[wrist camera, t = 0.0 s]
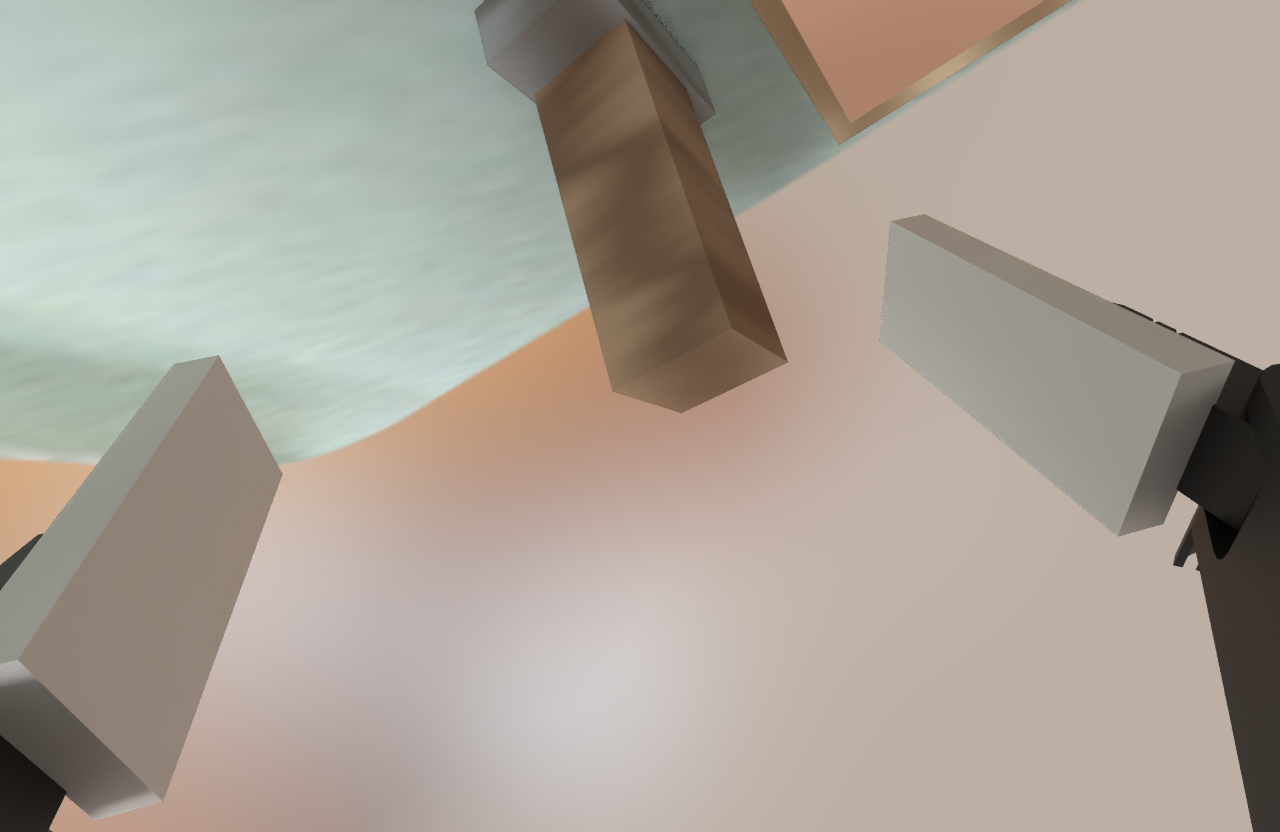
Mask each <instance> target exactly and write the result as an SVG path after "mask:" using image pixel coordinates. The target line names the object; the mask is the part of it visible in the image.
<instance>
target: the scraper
mask: <svg viewBox="0 0 1280 832" xmlns="http://www.w3.org/2000/svg"><path fill="white" fill-rule="evenodd" d="M475 15H476V19H477V23H478V27H479V32H480V36H481V40H482V44H483V48H484V53H485V57H486V61H487V65H488V66H489V67H491V68H492V69H493V70H494V71H496V72H497V73H498V74H499V75H501V76H502V77H503V78H504V79H506V80H507V81H508V82H509V83H511V84H512V85H513V86H514V87H516V88H517V89H518V90H519V91H521V92H522V93H523V94H524V95H526V96H527V97H528V98H530V99H531V100H532V101H533V102H535V103H536V105H537V108H538V112H539V116H540V120H541V123H542V127H543V131H544V135H545V139H546V142H547V146H548V150H549V154H550V157H551V161H552V165H553V169H554V172H555V176H556V180H557V184H558V188H559V191H560V195H561V199H562V203H563V206H564V210H565V214H566V218H567V221H568V225H569V229H570V233H571V236H572V240H573V244H574V248H575V252H576V255H577V259H578V263H579V267H580V270H581V274H582V278H583V282H584V285H585V289H586V293H587V297H588V301H589V304H590V308H591V312H592V316H593V319H594V323H595V327H596V331H597V334H598V338H599V342H600V346H601V349H602V353H603V357H604V360H605V365H606V368H607V372H608V376H609V380H610V383H611V387H612V391H614V392H616V393H620V394H623V395H626V396H629V397H633V398H636V399H639V400H642V401H645V402H648V403H651V404H655V405H658V406H661V407H664V408H668V409H670V410H674V411H677V412H680V413H683V412H685V411H687V410H689V409H691V408H693V407H695V406H697V405H700V404H702V403H703V402H706V401H708V400H710V399H712V398H714V397H716V396H718V395H720V394H722V393H725V392H727V391H729V390H731V389H733V388H735V387H737V386H739V385H741V384H743V383H745V382H748V381H749V380H752V379H754V378H756V377H758V376H760V375H762V374H764V373H767V372H769V371H771V370H773V369H775V368H777V367H779V366H781V365H783V364H785V363H787V362H788V361H787V358H786V356H785V353H784V350H783V348H782V345H781V342H780V339H779V337H778V334H777V331H776V329H775V326H774V323H773V321H772V318H771V315H770V313H769V310H768V308H767V304H766V302H765V299H764V296H763V294H762V291H761V288H760V286H759V283H758V281H757V278H756V275H755V272H754V269H753V267H752V264H751V261H750V259H749V256H748V253H747V251H746V248H745V245H744V243H743V240H742V237H741V234H740V232H739V229H738V226H737V224H736V221H735V218H734V216H733V213H732V210H731V208H730V205H729V202H728V199H727V197H726V194H725V191H724V189H723V186H722V183H721V181H720V178H719V175H718V173H717V170H716V167H715V165H714V162H713V159H712V156H711V154H710V151H709V148H708V146H707V143H706V140H705V138H704V135H703V132H702V130H701V127H700V124H702V123H703V122H704V121H706V120H707V119H709V118H710V117H711V116H713V115H714V114H715V111H714V108H713V106H712V103H711V101H710V98H709V95H708V93H707V90H706V88H705V85H704V82H703V80H702V77H701V75H700V72H699V69H698V67H697V66H696V65H695V63H694V62H693V61H692V60H691V58H690V57H689V56H688V55H687V54H686V52H685V51H684V50H683V49H682V47H681V46H680V45H679V44H678V43H677V41H676V40H675V39H674V38H673V36H672V35H671V34H670V33H669V32H668V30H667V29H666V28H665V27H664V25H663V24H662V23H661V22H660V21H659V19H658V18H657V17H656V16H655V14H654V13H653V12H652V11H651V10H650V8H649V7H648V6H647V5H646V3H645V2H644V1H643V0H485V1H484V2H483V3H482V4H481V5H480V6H479V7H478V8H477V9H476V10H475Z"/></svg>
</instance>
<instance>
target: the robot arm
mask: <svg viewBox="0 0 1280 832" xmlns="http://www.w3.org/2000/svg"><path fill="white" fill-rule="evenodd" d="M885 275H886V276H885V286H884V295H883V306H882V316H881V317H882V318H881V327H880V337H879V341H880V342H881V343H883V344H884V345H885V346H886V347H887V348H889V349H890V350H891V351H892V352H894V353H895V354H896V355H897V356H898V357H900V358H901V359H902V360H903V361H905V362H906V363H907V364H908V365H910V366H911V367H912V368H913V369H914V370H916V371H917V372H918V373H919V374H920V375H922V376H923V377H924V378H925V379H927V380H928V381H929V382H930V383H931V384H933V385H934V386H935V387H936V388H937V389H939V390H940V391H941V392H942V393H943V394H945V395H946V396H947V397H948V398H950V399H951V400H952V401H953V402H954V403H956V404H957V405H958V406H959V407H961V408H962V409H963V410H964V411H966V412H967V413H968V414H969V415H970V416H972V417H973V418H974V419H975V420H976V421H977V422H979V423H980V424H981V425H982V426H984V427H985V428H986V429H987V430H989V431H990V432H991V433H992V434H993V435H995V436H996V437H997V438H998V439H999V440H1001V441H1002V442H1003V443H1004V444H1005V445H1007V446H1008V447H1009V448H1010V449H1012V450H1013V451H1014V452H1015V453H1016V454H1018V455H1019V456H1020V457H1021V458H1023V459H1024V460H1025V461H1026V462H1027V463H1029V464H1030V465H1031V466H1032V467H1033V468H1035V469H1036V470H1037V471H1038V472H1040V473H1041V474H1042V475H1043V476H1044V477H1046V478H1047V479H1048V480H1049V481H1050V482H1052V483H1053V484H1054V485H1055V486H1057V487H1058V488H1059V489H1060V490H1061V491H1063V492H1064V493H1065V494H1066V495H1068V496H1069V497H1070V498H1071V499H1072V500H1074V501H1075V502H1076V503H1077V504H1078V505H1080V506H1081V507H1082V508H1084V509H1085V510H1086V511H1087V512H1088V513H1089V514H1091V515H1092V516H1093V517H1094V518H1095V519H1097V520H1098V521H1099V522H1100V523H1102V524H1103V525H1104V526H1105V527H1106V528H1108V529H1109V530H1110V531H1111V532H1113V533H1114V534H1115V535H1116V536H1122V535H1125V534H1129V533H1132V532H1136V531H1140V530H1143V529H1146V528H1150V527H1154V526H1157V525H1161V524H1163V523H1164V521H1165V519H1166V516H1167V514H1168V512H1169V510H1170V507H1171V505H1172V503H1173V501H1174V498H1175V496H1176V494H1177V491H1180V492H1181V493H1183V494H1184V495H1185V496H1187V497H1188V498H1190V499H1191V500H1193V501H1194V502H1196V503H1197V504H1198V508H1197V510H1196V512H1195V514H1194V516H1193V518H1192V520H1191V523H1190V525H1189V527H1188V529H1187V531H1186V533H1185V535H1184V537H1183V539H1182V542H1181V544H1180V546H1179V548H1178V550H1177V552H1176V555H1175V559H1174V564H1173V565H1175V566H1179V567H1183V565H1184V563H1185V561H1186V559H1187V557H1188V556H1189V555H1191V554H1193V553H1195V552H1196V555H1197V559H1198V566H1197V568H1196V570H1198V571H1200V574H1201V579H1202V584H1203V589H1204V594H1205V598H1206V603H1207V608H1208V613H1209V618H1210V622H1211V628H1212V633H1213V637H1214V642H1215V647H1216V652H1217V657H1218V661H1219V667H1220V672H1221V677H1222V681H1223V686H1224V691H1225V696H1226V700H1227V706H1228V710H1229V715H1230V721H1231V725H1232V730H1233V735H1234V740H1235V745H1236V750H1237V755H1238V760H1239V764H1240V769H1241V774H1242V779H1243V784H1244V788H1245V794H1246V798H1247V803H1248V808H1249V813H1250V818H1251V823H1252V828H1253V832H1280V364H1276V365H1271V366H1270V367H1268V368H1266V369H1265V370H1261V369H1259V368H1257V367H1255V366H1253V365H1250V364H1248V363H1246V362H1244V361H1242V360H1240V359H1238V358H1236V357H1233V356H1231V355H1229V354H1227V353H1225V352H1223V351H1220V350H1218V349H1216V348H1214V347H1212V346H1210V345H1208V344H1206V343H1203V342H1201V341H1199V340H1197V339H1195V338H1192V337H1191V336H1188V335H1186V334H1184V333H1179V334H1177V332H1176V329H1173V328H1171V327H1169V326H1167V325H1165V324H1163V323H1161V322H1155V323H1154V322H1153V319H1152V318H1150V317H1148V316H1146V315H1144V314H1141V313H1139V312H1137V311H1135V310H1133V309H1131V308H1128V307H1126V306H1124V305H1120V304H1116V303H1112V302H1109V301H1107V300H1105V299H1103V298H1101V297H1099V296H1097V295H1095V294H1093V293H1090V292H1088V291H1086V290H1084V289H1082V288H1080V287H1078V286H1075V285H1073V284H1071V283H1069V282H1067V281H1065V280H1063V279H1060V278H1059V277H1056V276H1054V275H1052V274H1050V273H1048V272H1046V271H1044V270H1042V269H1040V268H1037V267H1035V266H1033V265H1031V264H1029V263H1026V262H1025V261H1023V260H1020V259H1018V258H1016V257H1014V256H1012V255H1010V254H1008V253H1005V252H1003V251H1001V250H999V249H997V248H995V247H993V246H991V245H989V244H987V243H984V242H982V241H980V240H978V239H976V238H974V237H971V236H969V235H967V234H965V233H963V232H961V231H959V230H957V229H955V228H953V227H950V226H948V225H946V224H944V223H942V222H940V221H938V220H936V219H933V218H931V217H929V216H927V215H925V214H924V215H919V216H914V217H910V218H904V219H900V220H894V221H891V222H890V233H889V243H888V253H887V264H886V274H885ZM281 477H282V472H281V470H280V469H279V467H278V465H277V463H276V461H275V459H274V457H273V455H272V454H271V452H270V450H269V448H268V446H267V444H266V442H265V441H264V439H263V437H262V435H261V433H260V431H259V429H258V427H257V426H256V424H255V422H254V420H253V418H252V416H251V414H250V413H249V411H248V409H247V407H246V405H245V403H244V401H243V399H242V398H241V396H240V394H239V392H238V390H237V388H236V386H235V384H234V383H233V381H232V379H231V377H230V375H229V373H228V371H227V370H226V368H225V366H224V364H223V362H222V360H221V358H220V356H219V355H218V356H213V357H208V358H203V359H198V360H193V361H188V362H183V363H178V364H174V365H173V366H172V367H171V369H170V370H169V371H168V373H167V374H166V375H165V376H164V378H163V379H162V380H161V382H160V383H159V384H158V386H157V387H156V388H155V390H154V391H153V392H152V393H151V395H150V396H149V397H148V399H147V400H146V401H145V403H144V404H143V405H142V407H141V408H140V409H139V410H138V412H137V413H136V414H135V416H134V417H133V418H132V420H131V421H130V422H129V423H128V425H127V426H126V427H125V429H124V430H123V431H122V433H121V434H120V435H119V437H118V438H117V439H116V440H115V442H114V443H113V444H112V446H111V447H110V448H109V450H108V451H107V452H106V453H105V455H104V456H103V457H102V459H101V460H100V461H99V463H98V464H97V465H96V467H95V468H94V469H93V471H92V472H91V473H90V474H89V476H88V477H87V478H86V480H85V481H84V482H83V483H82V485H81V486H80V487H79V489H78V490H77V491H76V493H75V494H74V495H73V497H72V498H71V499H70V500H69V502H68V503H67V504H66V506H65V507H64V508H63V510H62V511H61V512H60V513H59V515H58V516H57V517H56V519H55V520H54V521H53V523H52V524H51V525H50V527H49V528H48V529H47V531H46V532H45V533H44V534H39V535H37V536H36V537H35V538H33V539H32V540H31V541H30V542H28V543H27V544H26V545H25V546H23V547H22V548H21V549H20V550H19V551H17V552H16V553H15V554H13V555H12V556H11V557H10V558H8V559H7V560H6V561H5V562H4V563H2V564H1V565H0V832H52V831H51V830H49V827H50V825H51V823H52V821H53V819H54V817H55V815H56V813H57V811H58V809H59V807H60V805H61V803H62V801H63V799H64V796H65V795H66V796H67V797H68V798H69V799H71V800H72V801H73V802H74V803H75V804H77V805H78V806H79V807H80V808H81V809H83V810H84V811H85V812H86V813H87V814H88V815H89V816H91V817H92V818H93V819H94V820H98V819H102V818H105V817H109V816H112V815H116V814H119V813H123V812H127V811H130V810H134V809H138V808H141V807H145V806H148V805H152V804H156V803H159V802H163V800H164V798H165V795H166V792H167V789H168V787H169V784H170V781H171V778H172V776H173V773H174V770H175V767H176V764H177V761H178V759H179V756H180V754H181V751H182V748H183V745H184V742H185V740H186V737H187V734H188V732H189V729H190V726H191V724H192V720H193V718H194V715H195V713H196V710H197V707H198V704H199V702H200V699H201V696H202V693H203V690H204V688H205V685H206V682H207V680H208V677H209V674H210V671H211V669H212V666H213V663H214V660H215V658H216V655H217V652H218V649H219V647H220V644H221V641H222V638H223V636H224V633H225V630H226V628H227V625H228V622H229V619H230V617H231V614H232V611H233V608H234V605H235V603H236V600H237V597H238V595H239V592H240V589H241V586H242V584H243V581H244V578H245V576H246V573H247V570H248V567H249V565H250V562H251V559H252V556H253V554H254V551H255V548H256V545H257V543H258V540H259V537H260V534H261V532H262V529H263V526H264V523H265V521H266V518H267V515H268V512H269V510H270V507H271V504H272V502H273V499H274V496H275V493H276V490H277V488H278V485H279V482H280V479H281Z"/></svg>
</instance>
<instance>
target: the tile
mask: <svg viewBox="0 0 1280 832" xmlns="http://www.w3.org/2000/svg"><path fill="white" fill-rule="evenodd" d="M1043 1H1045V0H782V2H783V4H784V6H785V7H786V9H787V11H788V13H789V15H790V16H791V18H792V20H793V22H794V23H795V25H796V27H797V29H798V31H799V32H800V34H801V36H802V38H803V39H804V41H805V43H806V45H807V47H808V48H809V50H810V52H811V54H812V55H813V57H814V59H815V61H816V63H817V64H818V66H819V68H820V70H821V72H822V73H823V75H824V77H825V79H826V80H827V82H828V84H829V86H830V88H831V89H832V91H833V93H834V95H835V96H836V98H837V100H838V102H839V104H840V105H841V107H842V109H843V111H844V112H845V114H846V116H847V118H848V120H849V121H850V123H852V122H853V121H855V120H856V119H858V118H860V117H861V116H863V115H864V114H866V113H867V112H869V111H871V110H872V109H874V108H875V107H877V106H879V105H880V104H882V103H883V102H885V101H886V100H888V99H890V98H891V97H893V96H894V95H896V94H898V93H899V92H901V91H902V90H904V89H905V88H907V87H909V86H910V85H912V84H913V83H915V82H917V81H918V80H920V79H921V78H923V77H924V76H926V75H928V74H929V73H931V72H932V71H934V70H935V69H937V68H939V67H940V66H942V65H943V64H945V63H947V62H948V61H950V60H951V59H953V58H954V57H956V56H958V55H959V54H961V53H962V52H964V51H966V50H967V49H969V48H970V47H972V46H973V45H975V44H977V43H978V42H980V41H981V40H983V39H985V38H986V37H988V36H989V35H991V34H992V33H994V32H996V31H997V30H999V29H1000V28H1002V27H1004V26H1005V25H1007V24H1008V23H1010V22H1011V21H1013V20H1015V19H1016V18H1018V17H1019V16H1021V15H1022V14H1024V13H1026V12H1027V11H1029V10H1030V9H1032V8H1034V7H1035V6H1037V5H1038V4H1040V3H1041V2H1043Z"/></svg>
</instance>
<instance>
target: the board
mask: <svg viewBox="0 0 1280 832" xmlns="http://www.w3.org/2000/svg"><path fill="white" fill-rule="evenodd" d="M749 1H750V2H751V4H752V6H753V7H754V9H755V11H756V12H757V14H758V15H759V17H760V19H761V20H762V22H763V23H764V25H765V27H766V28H767V30H768V31H769V33H770V35H771V36H772V38H773V39H774V41H775V43H776V44H777V46H778V47H779V49H780V51H781V52H782V54H783V56H784V57H785V59H786V60H787V62H788V64H789V65H790V67H791V68H792V70H793V72H794V73H795V75H796V76H797V78H798V80H799V81H800V83H801V84H802V86H803V88H804V89H805V91H806V93H807V94H808V96H809V97H810V99H811V101H812V102H813V104H814V105H815V107H816V109H817V110H818V112H819V113H820V115H821V117H822V118H823V120H824V121H825V123H826V125H827V126H828V128H829V129H830V131H831V133H832V134H833V136H834V138H835V139H836V141H837V142H838V144H839V145H840V144H841V143H843V142H844V141H846V140H848V139H849V138H851V137H852V136H854V135H856V134H857V133H859V132H860V131H862V130H864V129H865V128H867V127H868V126H870V125H872V124H873V123H875V122H877V121H878V120H880V119H881V118H883V117H885V116H886V115H888V114H889V113H891V112H893V111H894V110H896V109H897V108H899V107H901V106H902V105H904V104H905V103H907V102H909V101H910V100H912V99H914V98H915V97H917V96H918V95H920V94H922V93H923V92H925V91H926V90H928V89H930V88H931V87H933V86H934V85H936V84H938V83H939V82H941V81H942V80H944V79H946V78H947V77H949V76H951V75H952V74H954V73H955V72H957V71H959V70H960V69H962V68H963V67H965V66H967V65H968V64H970V63H971V62H973V61H975V60H976V59H978V58H980V57H981V56H983V55H984V54H986V53H988V52H989V51H991V50H992V49H994V48H996V47H997V46H999V45H1000V44H1002V43H1004V42H1005V41H1007V40H1008V39H1010V38H1012V37H1013V36H1015V35H1017V34H1018V33H1020V32H1021V31H1023V30H1025V29H1026V28H1028V27H1029V26H1031V25H1033V24H1034V23H1036V22H1037V21H1039V20H1041V19H1042V18H1044V17H1045V16H1047V15H1049V14H1050V13H1052V12H1054V11H1055V10H1057V9H1058V8H1060V7H1062V6H1063V5H1065V4H1066V3H1068V2H1070V1H1071V0H1045V1H1043V2H1041V3H1040V4H1038V5H1037V6H1035V7H1034V8H1032V9H1030V10H1029V11H1027V12H1026V13H1024V14H1022V15H1021V16H1019V17H1018V18H1016V19H1015V20H1013V21H1011V22H1010V23H1008V24H1007V25H1005V26H1004V27H1002V28H1000V29H999V30H997V31H996V32H994V33H992V34H991V35H989V36H988V37H986V38H985V39H983V40H981V41H980V42H978V43H977V44H975V45H973V46H972V47H970V48H969V49H967V50H966V51H964V52H962V53H961V54H959V55H958V56H956V57H954V58H953V59H951V60H950V61H948V62H947V63H945V64H943V65H942V66H940V67H939V68H937V69H935V70H934V71H932V72H931V73H929V74H928V75H926V76H924V77H923V78H921V79H920V80H918V81H917V82H915V83H913V84H912V85H910V86H909V87H907V88H905V89H904V90H902V91H901V92H899V93H898V94H896V95H894V96H893V97H891V98H890V99H888V100H886V101H885V102H883V103H882V104H880V105H879V106H877V107H875V108H874V109H872V110H871V111H869V112H867V113H866V114H864V115H863V116H861V117H860V118H858V119H856V120H855V121H853V122H852V123H850V121H849V120H848V118H847V116H846V114H845V112H844V111H843V109H842V107H841V105H840V104H839V102H838V100H837V98H836V96H835V95H834V93H833V91H832V89H831V88H830V86H829V84H828V82H827V80H826V79H825V77H824V75H823V73H822V72H821V70H820V68H819V66H818V64H817V63H816V61H815V59H814V57H813V55H812V54H811V52H810V50H809V48H808V47H807V45H806V43H805V41H804V39H803V38H802V36H801V34H800V32H799V31H798V29H797V27H796V25H795V23H794V22H793V20H792V18H791V16H790V15H789V13H788V11H787V9H786V7H785V6H784V4H783V2H782V0H749Z"/></svg>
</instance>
